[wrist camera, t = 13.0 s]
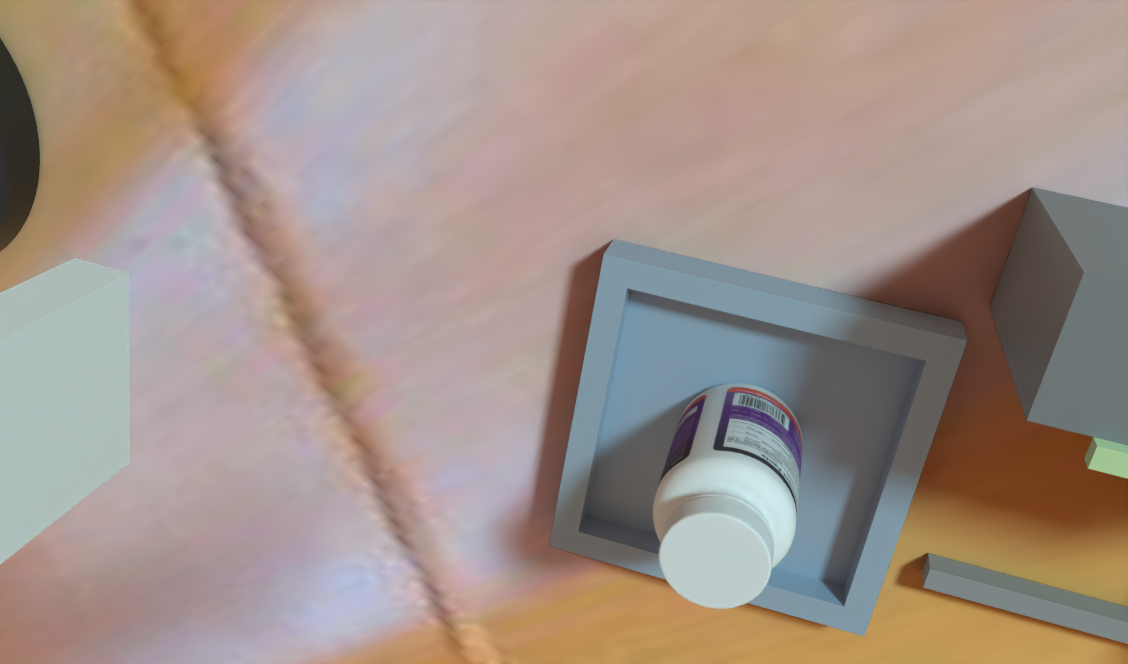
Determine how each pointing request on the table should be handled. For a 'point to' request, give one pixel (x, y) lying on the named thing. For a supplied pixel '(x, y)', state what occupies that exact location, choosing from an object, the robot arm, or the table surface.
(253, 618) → the table surface
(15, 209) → the robot arm
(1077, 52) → the table surface
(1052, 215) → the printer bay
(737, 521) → the pill bottle
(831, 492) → the tray
